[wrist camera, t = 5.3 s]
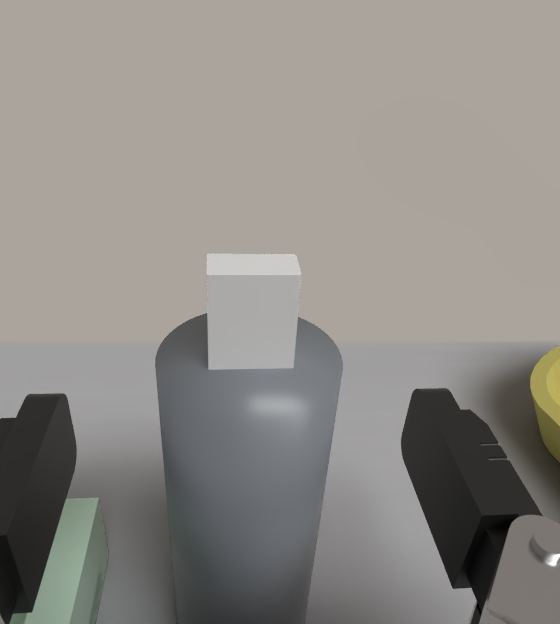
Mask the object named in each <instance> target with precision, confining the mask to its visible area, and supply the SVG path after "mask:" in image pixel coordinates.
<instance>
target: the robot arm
mask: <svg viewBox="0 0 560 624" xmlns="http://www.w3.org/2000/svg"><path fill="white" fill-rule="evenodd" d="M401 449H402V456H403V460H404V463H405V466H406V468H407V471H408V473H409V476H410V479H411V481H412V484H413V486H414V489H415V492H416V494H417V497H418V499H419V502H420V505H421V507H422V510H423V512H424V515H425V518H426V520H427V523H428V525H429V528H430V531H431V533H432V536H433V538H434V541H435V544H436V546H437V549H438V551H439V554H440V557H441V559H442V562H443V564H444V567H445V570H446V572H447V575H448V577H449V580H450V583H451V585H452V588H453V589H457V588H472V590H473V593H474V595H475V597H476V600H477V601H476V603H475V605H474V607H473V611H472V614H471V617H470V620H469V624H560V524H559V523H558V522H556V521H554V520H552V519H549V518H546V517H543V515H542V514H541V512H540V511H539V509H538V507H537V506H536V504H535V502H534V501H533V499H532V497H531V496H530V494H529V492H528V491H527V489H526V487H525V486H524V484H523V483H522V481H521V479H520V478H519V476H518V474H517V473H516V471H515V469H514V468H513V466H512V464H511V463H510V461H507V456H506V454H505V453H504V451H503V449H502V448H501V446H498V441H497V440H496V438H495V436H494V435H493V433H492V431H491V430H490V428H489V426H488V425H487V424H486V423H485V422H484V421H483V420H481V419H480V418H479V417H478V416H477V415H476V414H475V413H473V412H472V411H471V410H460V408H459V406H458V404H457V403H456V401H455V399H454V397H453V395H452V394H451V392H450V391H449V390H448V389H446V388H438V389H415V390H414V391H413V393H412V396H411V400H410V404H409V408H408V412H407V416H406V420H405V424H404V428H403V432H402V438H401ZM76 452H77V450H76V440H75V435H74V430H73V425H72V420H71V414H70V409H69V404H68V400H67V397H66V395H65V394H29V395H27V396H26V398H25V400H24V402H23V404H22V406H21V408H20V410H19V412H18V415H17V417H16V418H1V419H0V624H10V621H11V618H12V615H13V614H17V613H32V611H33V608H34V605H35V601H36V598H37V595H38V591H39V588H40V584H41V581H42V578H43V574H44V571H45V568H46V564H47V561H48V558H49V554H50V551H51V547H52V544H53V541H54V537H55V534H56V531H57V527H58V524H59V520H60V517H61V514H62V510H63V507H64V504H65V500H66V497H67V494H68V490H69V487H70V483H71V480H72V477H73V473H74V470H75V464H76Z"/></svg>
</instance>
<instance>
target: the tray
mask: <svg viewBox="0 0 560 624" xmlns="http://www.w3.org/2000/svg"><path fill="white" fill-rule="evenodd" d="M108 557H109V551H108V546H107V540H106V534H105V529H104V523H103V517H102V512H101V506H100V501H99V497H96V498H71V499H66V500H65V504H64V507H63V510H62V514H61V517H60V520H59V524H58V527H57V531H56V534H55V537H54V541H53V544H52V547H51V551H50V554H49V558H48V561H47V564H46V568H45V571H44V574H43V578H42V581H41V584H40V588H39V591H38V595H37V598H36V601H35V605H34V608H33V611H32V613H17V614H13V615H12V618H11V621H10V624H96V619H97V614H98V609H99V603H100V598H101V593H102V588H103V583H104V577H105V572H106V567H107V562H108Z"/></svg>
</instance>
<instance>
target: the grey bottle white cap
mask: <svg viewBox="0 0 560 624" xmlns="http://www.w3.org/2000/svg"><path fill="white" fill-rule="evenodd" d="M301 277H302V275H301V271H300V268H299V264H298V261H297V257H296V255H295V254H207V313H206V314H203V315H200V316H197V317H195V318H193V319H190V320H188V321H186V322H185V323H183V324H182V325H180V326H178V327H177V328H176V329H174V330H173V331H172V332H171V333H170V334H169V335H168V336H167V337H166V338H165V339H164V340H163V342H162V343H161V345H160V347H159V349H158V351H157V355H156V363H155V367H156V378H157V390H158V402H159V413H160V425H161V437H162V449H163V460H164V472H165V484H166V496H167V507H168V519H169V531H170V543H171V554H172V566H173V578H174V590H175V601H176V613H177V624H304V623H305V616H306V610H307V603H308V596H309V590H310V583H311V576H312V570H313V563H314V556H315V550H316V543H317V536H318V530H319V523H320V516H321V510H322V503H323V496H324V490H325V483H326V476H327V470H328V463H329V456H330V450H331V443H332V436H333V430H334V423H335V416H336V410H337V403H338V396H339V390H340V383H341V376H342V370H343V365H342V358H341V354H340V352H339V349H338V347H337V346H336V344H335V343H334V341H333V340H332V339H331V338H330V337H329V336H328V335H327V334H326V333H325V332H323V331H322V330H321V329H320V328H318V327H317V326H315V325H314V324H312V323H310V322H308V321H306V320H304V319H301V318H299V317H298V311H299V310H298V309H299V299H300V286H301Z"/></svg>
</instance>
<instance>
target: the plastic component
mask: <svg viewBox="0 0 560 624" xmlns="http://www.w3.org/2000/svg"><path fill="white" fill-rule="evenodd" d="M530 388H531V393H532V397H533V402H534V406H535V411H536V415H537V420H538V424H539V428H540V433H541V437H542V440H543V442H544V444H545V446H546V447H547V449H548V450H549V452H550V453H551V454H552V455H553V456H554V457H555V459H556V460H557V461H558V462H559V463H560V346H558V347H556V348H554V349H553V350H551V351H550V352H548V353H547V354H546V355H544V356H543V357H542V358H541V359H540V361H539V362H538V363H537V364H536V365H535V367H534V370H533V372H532V374H531V377H530Z"/></svg>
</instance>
